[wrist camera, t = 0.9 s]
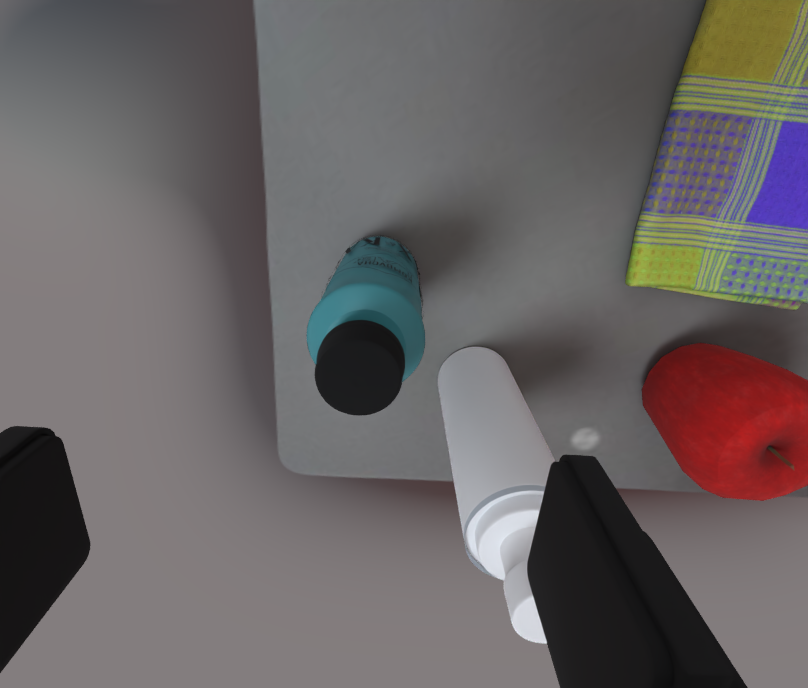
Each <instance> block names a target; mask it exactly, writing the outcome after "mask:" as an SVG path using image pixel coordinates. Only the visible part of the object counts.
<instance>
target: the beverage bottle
mask: <svg viewBox="0 0 808 688" xmlns="http://www.w3.org/2000/svg"><path fill="white" fill-rule="evenodd" d="M359 240H360V239H359ZM357 241H358V240H357ZM353 244H354V243H353ZM407 249H408V248H407ZM407 249H406V248H405V247H404V246H403V245H401V244H400V243H398V241H395V240H394V239H393V240H392V239H390V238H388V237H387V238H386V237H384V235H382V237H381V236H380V237H375V236H374V237H373V235H372V237H370V238H367V237H366V239H364V238H363V240H362V238H361V241H359V242H357V243H356V244H354V245H353V246H352V247H351V248H348V249H347V250H346V251H345V252H346V254H345V256H344V258H343V260H342V261H341V263H340V265H339V267H338V268H336V269H337V270H336V272H335V274H334V275H333V277H332V276H330V278H331V277H332V279H331V281H330V280H328V281H330V283H329V285H328V286H326V287H327V288H326V291H325V293H324V295H323V297H322V299H321V301H320V302H319V303H318V305H317V306H316V307H315V309H314V311H313V312H312V314H311V317H310V320H309V323H308V327H307V344H308V349H309V352H310V355H311V357H312V359H313V361H314V363H315V364H316V368H315V381H316V385H317V388H318V390H319V392H320V394H321V396H322V397H323V399H324V400H325V401H326V402H327V403H328V404H329V405H330V406H332V407H333V408H335V409H337V410H338V411H341V412H343V413H347V414H351V415H369V414H373V413H376V412H379V411H381V410H382V409H384V408H386V407H387V406H388V405H389V404H391V403H392V401H393V400H394V399H395V398H396V396H397V395H398V393H399V391H400V388H401V385H402V382H403V381H404V380H405V379H406V378H408V377H409V376H410V375H411V374H412V373H413V371H414V370H415V369H416V367H417V366H418V364H419V362H420V360H421V358H422V356H423V353H424V348H425V330H424V325H423V322H422V319H423V318H422V308H423V307H422V308H421V302H422V301H423V300H422V301H421V299H420V298H421V297H422V296H421V294H422V293H420V291H421V290H420V285H419V282H418V274H419V275H420V273H419V272H418V274H417V271H418V268H417V264H416V261H415V259H413V258H414V257H412V253H410V252H409V251H408V250H407ZM342 256H343V255H342ZM339 261H340V260H339ZM338 263H339V262H338ZM336 266H338V265H336ZM332 273H333V272H332ZM419 280H420V278H419ZM421 289H422V288H421ZM322 293H323V292H322ZM423 304H424V303H423ZM422 306H423V305H422ZM423 315H424V314H423Z"/></svg>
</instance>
